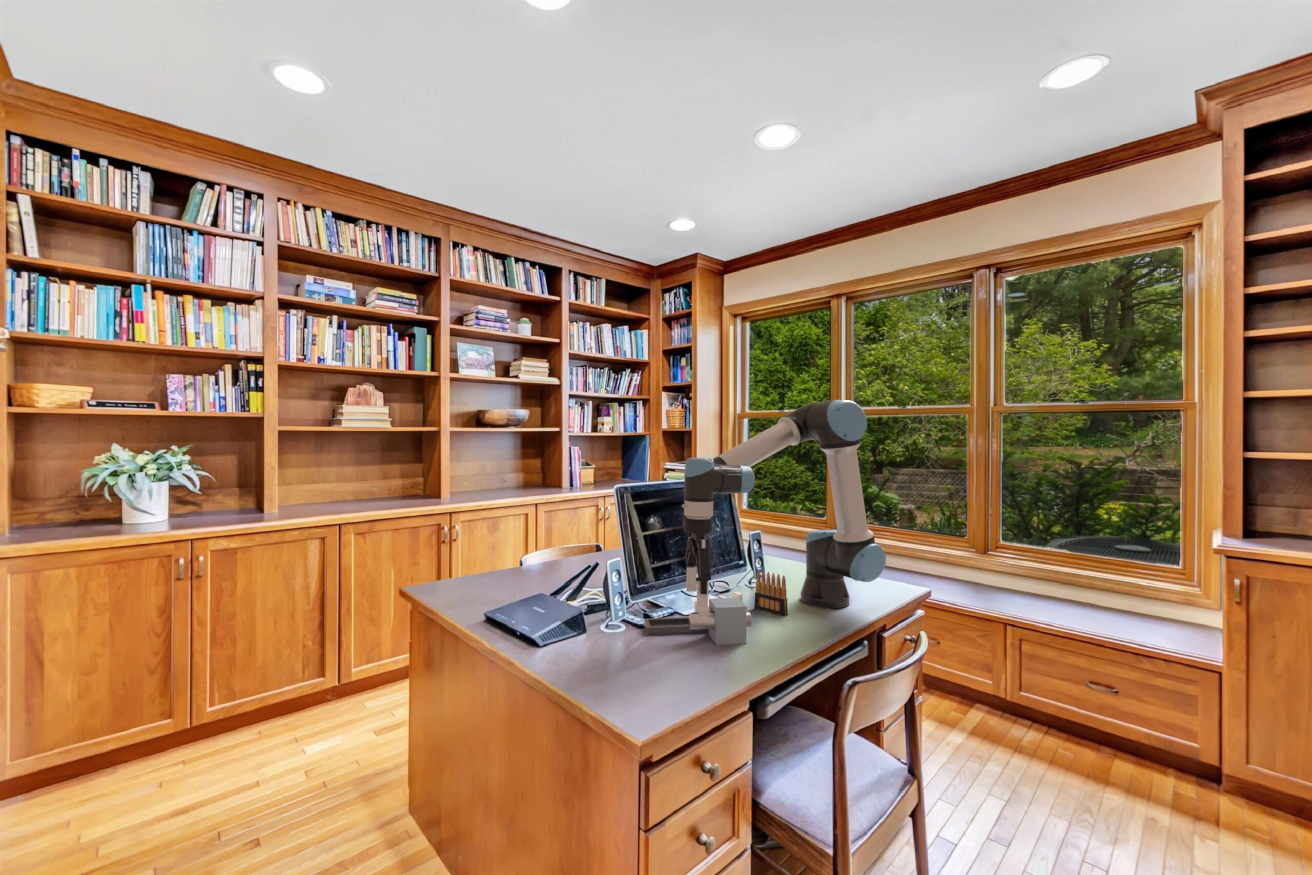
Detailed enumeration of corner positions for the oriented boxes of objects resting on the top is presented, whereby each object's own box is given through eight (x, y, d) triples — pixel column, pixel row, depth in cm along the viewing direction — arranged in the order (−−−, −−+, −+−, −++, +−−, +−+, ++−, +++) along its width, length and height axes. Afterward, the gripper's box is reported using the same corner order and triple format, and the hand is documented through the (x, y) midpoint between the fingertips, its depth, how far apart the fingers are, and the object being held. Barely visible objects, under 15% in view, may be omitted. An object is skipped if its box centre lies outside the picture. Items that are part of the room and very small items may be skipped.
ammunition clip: (753, 608, 170) (754, 569, 170) (757, 607, 172) (757, 568, 172) (784, 616, 163) (785, 576, 163) (787, 615, 164) (788, 575, 164)
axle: (747, 622, 148) (747, 609, 147) (751, 629, 144) (752, 615, 143) (688, 625, 145) (688, 611, 145) (691, 632, 142) (691, 618, 141)
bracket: (742, 619, 161) (742, 593, 161) (724, 624, 156) (724, 598, 156) (712, 608, 171) (712, 583, 171) (694, 612, 167) (694, 587, 167)
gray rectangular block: (737, 632, 149) (737, 597, 149) (746, 643, 141) (746, 606, 141) (708, 633, 148) (709, 598, 148) (716, 644, 140) (716, 607, 140)
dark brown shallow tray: (717, 622, 157) (717, 615, 157) (724, 631, 150) (724, 624, 150) (644, 625, 154) (644, 618, 154) (647, 634, 147) (647, 627, 147)
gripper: (675, 510, 155) (674, 585, 155) (693, 524, 131) (692, 613, 131) (701, 510, 156) (700, 585, 156) (724, 524, 132) (722, 613, 132)
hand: (696, 598), depth 144 cm, fingers open, 13 cm apart
